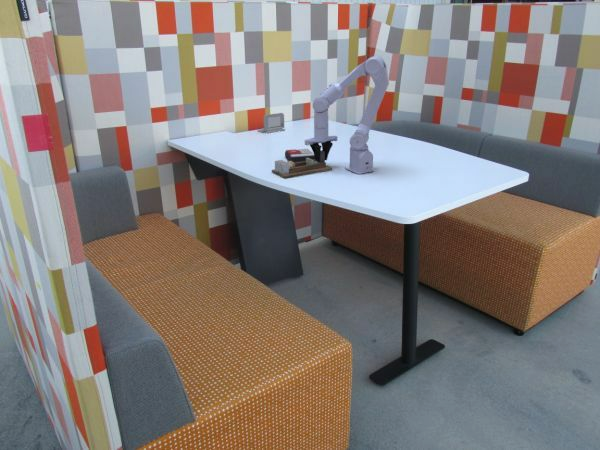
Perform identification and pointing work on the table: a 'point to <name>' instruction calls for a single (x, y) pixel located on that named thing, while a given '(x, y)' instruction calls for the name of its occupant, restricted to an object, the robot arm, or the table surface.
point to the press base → (304, 169)
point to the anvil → (282, 167)
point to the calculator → (299, 155)
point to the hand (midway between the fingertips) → (321, 160)
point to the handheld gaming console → (273, 123)
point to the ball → (291, 164)
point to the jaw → (310, 161)
